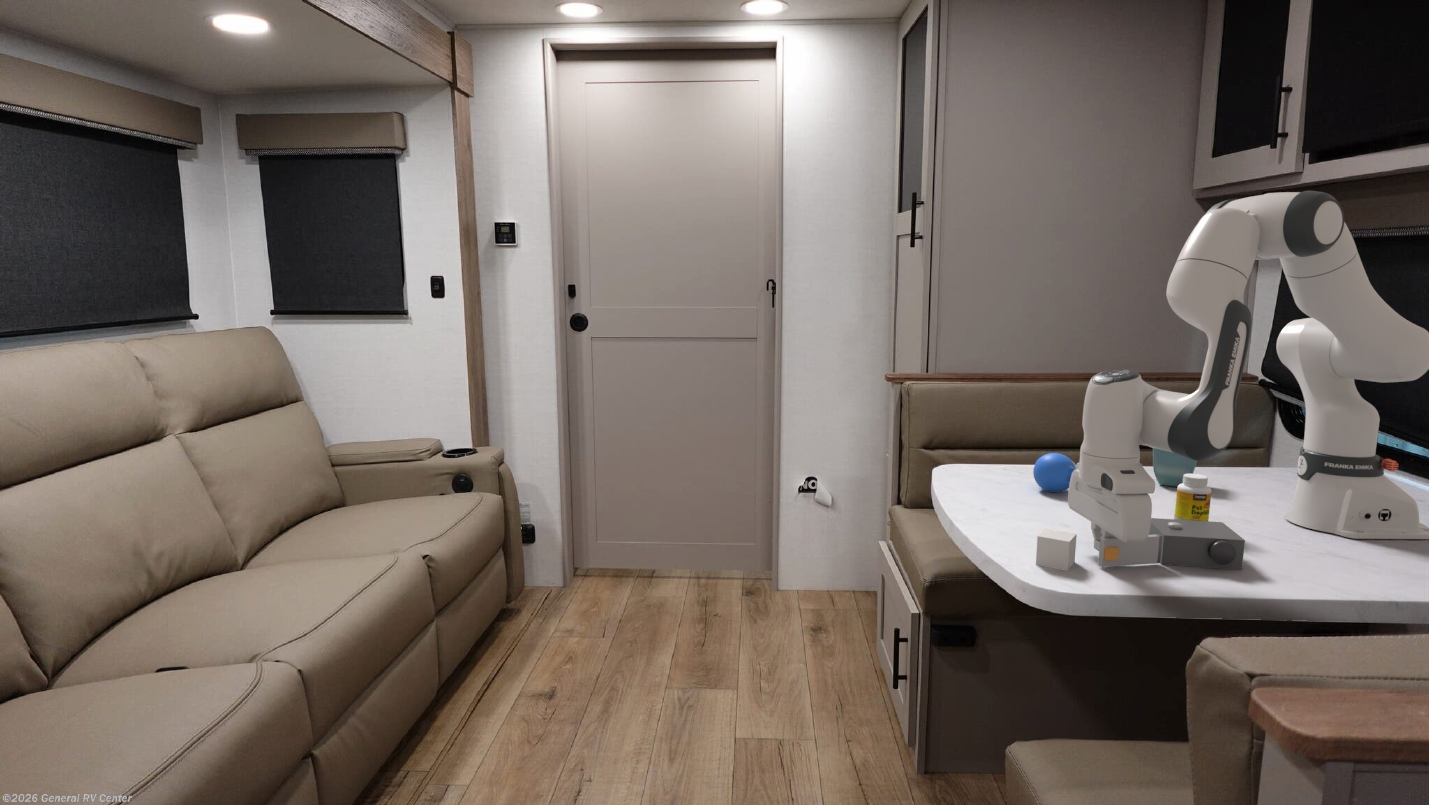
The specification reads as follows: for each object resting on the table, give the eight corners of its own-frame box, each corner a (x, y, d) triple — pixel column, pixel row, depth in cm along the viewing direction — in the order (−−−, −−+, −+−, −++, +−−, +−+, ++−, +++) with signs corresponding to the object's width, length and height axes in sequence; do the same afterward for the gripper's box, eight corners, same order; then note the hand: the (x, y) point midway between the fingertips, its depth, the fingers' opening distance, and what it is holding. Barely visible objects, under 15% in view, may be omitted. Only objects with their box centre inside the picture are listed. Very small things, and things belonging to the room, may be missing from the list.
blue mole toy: (1101, 494, 185) (1104, 455, 184) (1061, 500, 180) (1064, 461, 179) (1057, 481, 196) (1059, 445, 194) (1018, 487, 191) (1020, 450, 189)
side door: (1098, 564, 140) (1100, 537, 140) (1157, 561, 142) (1159, 534, 142) (1104, 568, 139) (1106, 540, 138) (1164, 564, 141) (1166, 537, 140)
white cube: (1074, 562, 143) (1076, 533, 142) (1067, 571, 139) (1069, 541, 138) (1043, 556, 146) (1045, 528, 145) (1035, 565, 142) (1037, 536, 141)
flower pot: (1196, 483, 195) (1200, 444, 193) (1194, 491, 187) (1197, 451, 186) (1153, 478, 199) (1156, 439, 198) (1149, 486, 192) (1152, 446, 190)
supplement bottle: (1188, 534, 158) (1194, 480, 156) (1166, 525, 163) (1171, 473, 161) (1214, 532, 159) (1220, 478, 157) (1191, 523, 164) (1196, 471, 162)
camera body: (1219, 550, 149) (1222, 518, 148) (1245, 573, 138) (1249, 539, 137) (1144, 545, 151) (1147, 514, 151) (1164, 567, 140) (1167, 534, 139)
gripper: (1060, 456, 151) (1056, 532, 153) (1121, 486, 130) (1114, 573, 133) (1096, 455, 151) (1090, 531, 153) (1162, 485, 131) (1154, 572, 133)
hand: (1102, 551), depth 143 cm, fingers closed
